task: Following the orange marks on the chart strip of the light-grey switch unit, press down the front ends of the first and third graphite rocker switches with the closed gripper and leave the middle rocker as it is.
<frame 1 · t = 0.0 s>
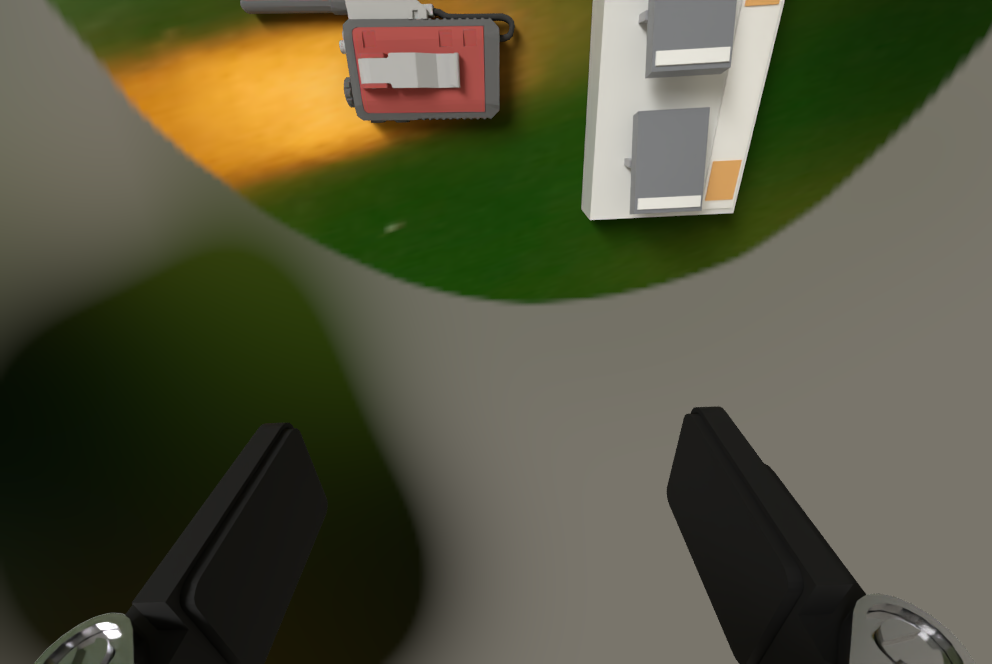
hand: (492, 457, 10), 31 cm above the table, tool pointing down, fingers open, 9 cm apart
rocker 2: (691, 9, 25), point 6 cm above the table, hinge at -15.0°
rocker 3: (668, 163, 30), point 6 cm above the table, hinge at -15.0°
switch unit: (670, 25, 31), on the table
walkie-talkie: (389, 59, 32), on the table
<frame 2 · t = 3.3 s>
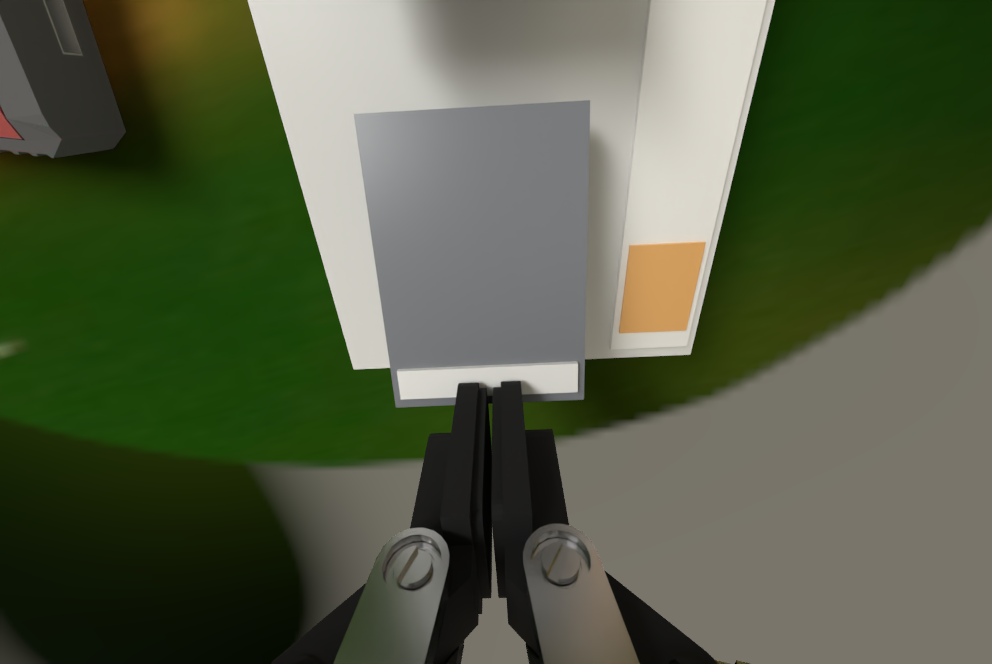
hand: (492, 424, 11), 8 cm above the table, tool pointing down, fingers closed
rocker 3: (482, 268, 10), point 6 cm above the table, hinge at -12.6°, touching gripper
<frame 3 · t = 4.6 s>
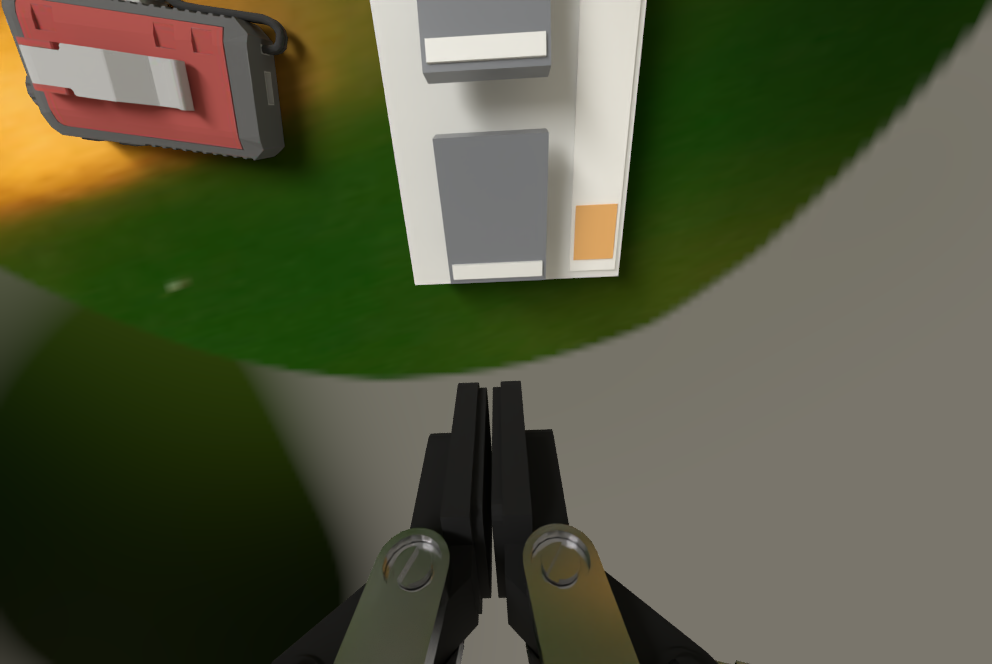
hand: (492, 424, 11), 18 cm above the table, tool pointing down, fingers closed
rocker 3: (494, 212, 20), point 6 cm above the table, hinge at 5.4°
switch unit: (506, 6, 21), on the table
walkie-talkie: (119, 53, 22), on the table
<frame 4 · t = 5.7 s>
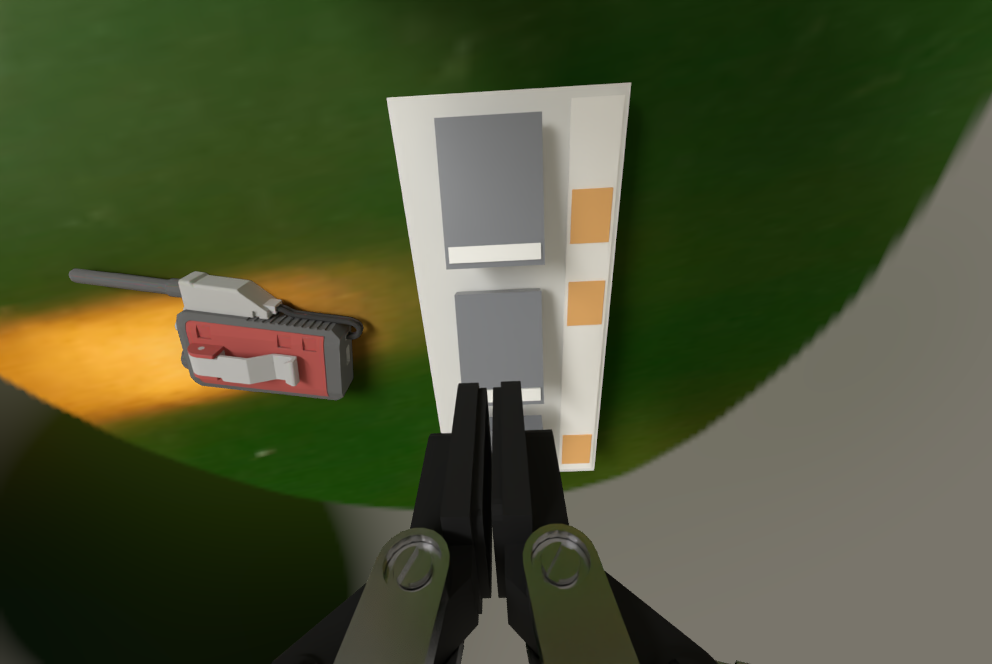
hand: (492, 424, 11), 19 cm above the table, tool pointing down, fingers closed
rocker 2: (500, 348, 24), point 6 cm above the table, hinge at -15.0°
rocker 3: (506, 455, 29), point 6 cm above the table, hinge at 9.1°
switch unit: (513, 303, 30), on the table
walkie-talkie: (240, 323, 31), on the table
rocker 1: (492, 195, 20), point 6 cm above the table, hinge at -15.0°
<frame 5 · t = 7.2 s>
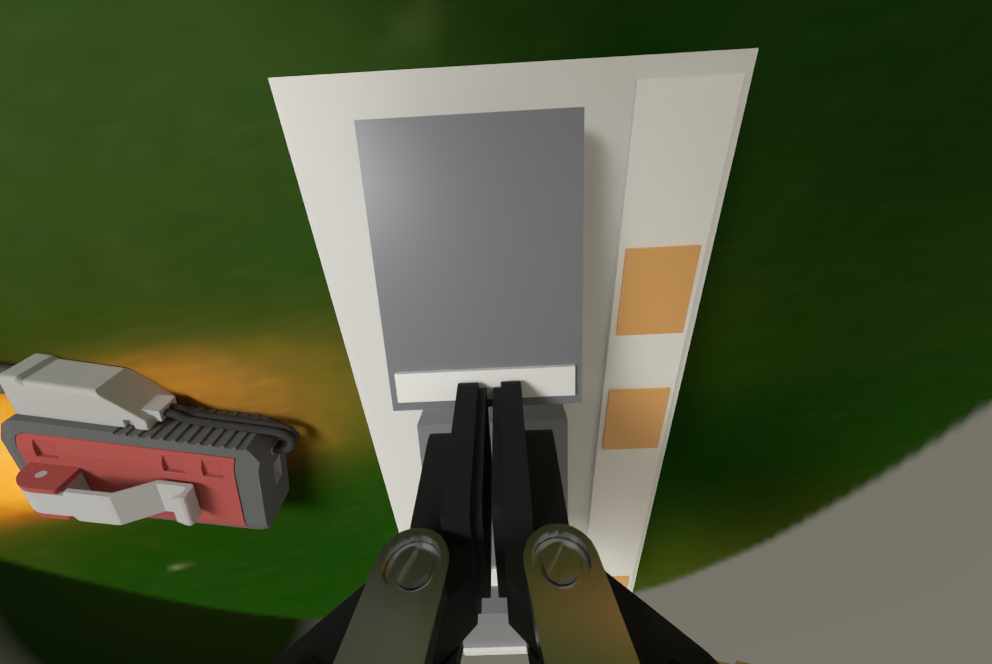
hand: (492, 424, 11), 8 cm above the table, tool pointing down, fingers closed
rocker 2: (497, 500, 15), point 6 cm above the table, hinge at -15.0°
rocker 3: (506, 621, 19), point 6 cm above the table, hinge at 10.3°
switch unit: (516, 391, 20), on the table
walkie-talkie: (121, 417, 22), on the table
rocker 1: (479, 272, 10), point 6 cm above the table, hinge at -14.5°, touching gripper
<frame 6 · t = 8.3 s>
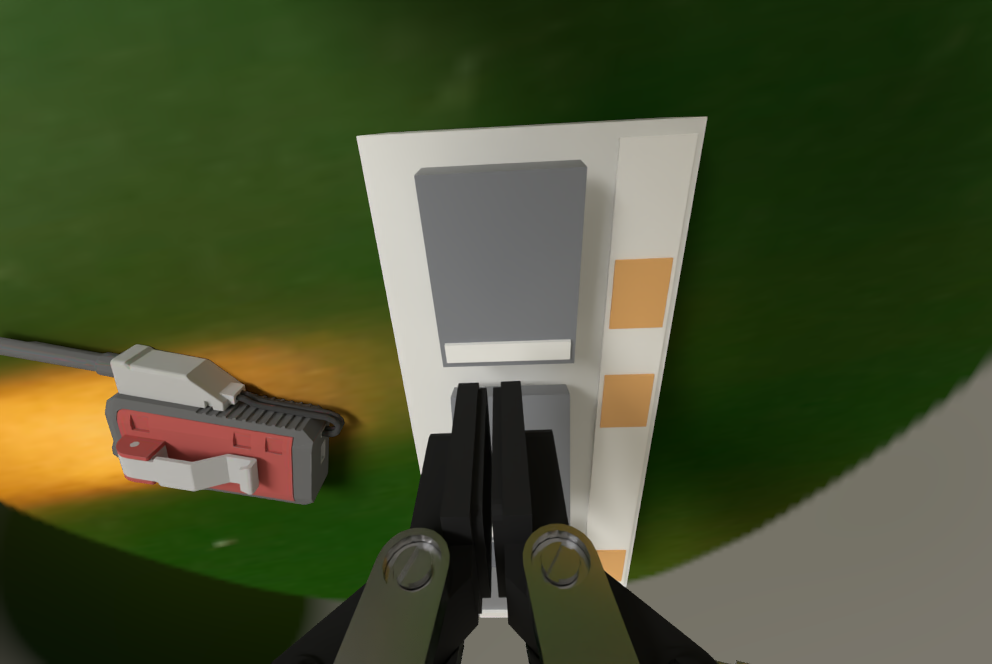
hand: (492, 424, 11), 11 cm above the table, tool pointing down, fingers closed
rocker 2: (512, 464, 18), point 6 cm above the table, hinge at -15.0°
rocker 3: (517, 583, 22), point 6 cm above the table, hinge at 10.5°
switch unit: (527, 383, 24), on the table
walkie-talkie: (193, 402, 26), on the table
rocker 1: (504, 275, 14), point 6 cm above the table, hinge at 4.7°
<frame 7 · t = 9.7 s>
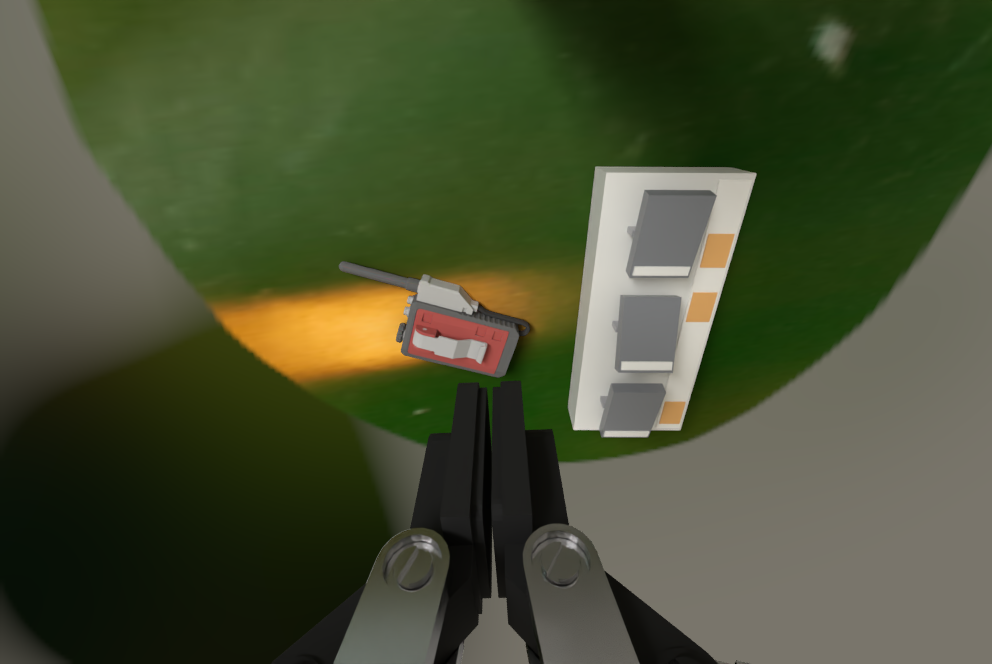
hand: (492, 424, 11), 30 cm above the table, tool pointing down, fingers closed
rocker 2: (647, 334, 36), point 6 cm above the table, hinge at -15.0°
rocker 3: (630, 412, 41), point 6 cm above the table, hinge at 10.6°
switch unit: (636, 305, 42), on the table
walkie-talkie: (435, 313, 43), on the table
rocker 1: (667, 236, 32), point 6 cm above the table, hinge at 9.6°
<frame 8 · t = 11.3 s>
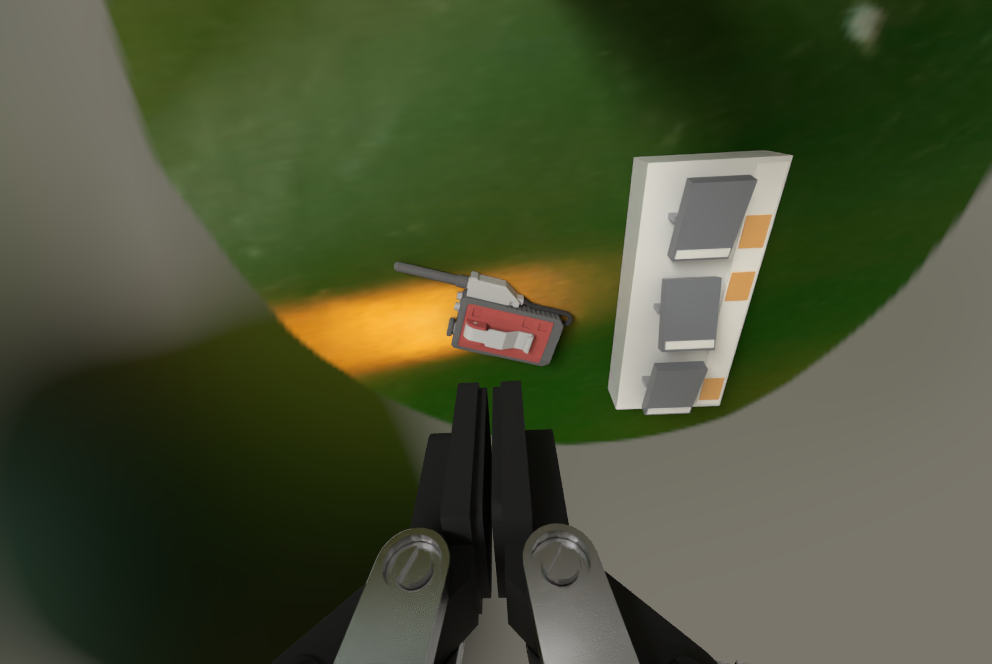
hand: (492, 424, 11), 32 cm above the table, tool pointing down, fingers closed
rocker 2: (688, 314, 38), point 6 cm above the table, hinge at -15.0°
rocker 3: (672, 389, 43), point 6 cm above the table, hinge at 10.6°
switch unit: (674, 288, 44), on the table
walkie-talkie: (481, 307, 46), on the table
rocker 1: (709, 220, 34), point 6 cm above the table, hinge at 10.7°
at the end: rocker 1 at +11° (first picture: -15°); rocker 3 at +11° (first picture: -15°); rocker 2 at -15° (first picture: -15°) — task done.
